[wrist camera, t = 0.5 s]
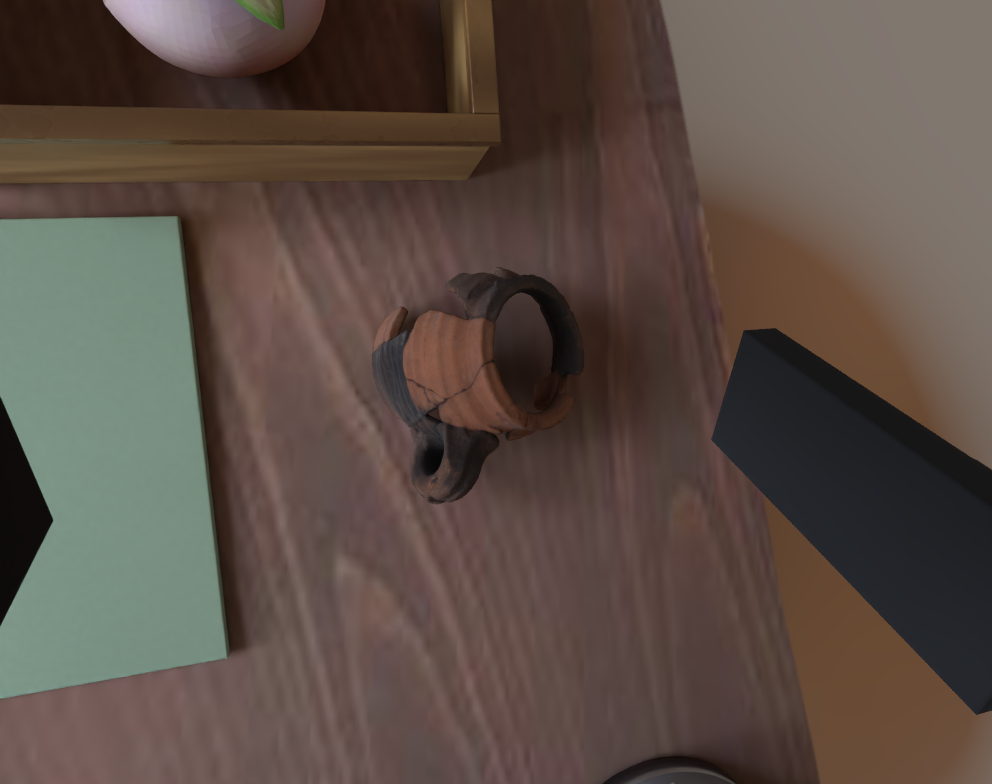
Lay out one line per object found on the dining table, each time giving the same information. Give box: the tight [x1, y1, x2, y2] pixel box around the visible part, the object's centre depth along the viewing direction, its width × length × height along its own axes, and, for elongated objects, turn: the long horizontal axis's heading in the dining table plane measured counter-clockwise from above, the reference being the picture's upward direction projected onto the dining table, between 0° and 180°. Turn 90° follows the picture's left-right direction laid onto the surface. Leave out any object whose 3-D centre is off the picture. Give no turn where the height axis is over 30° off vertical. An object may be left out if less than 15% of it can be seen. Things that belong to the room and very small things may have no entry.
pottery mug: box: [372, 267, 584, 504], centre depth 31 cm, size 12×10×8 cm
